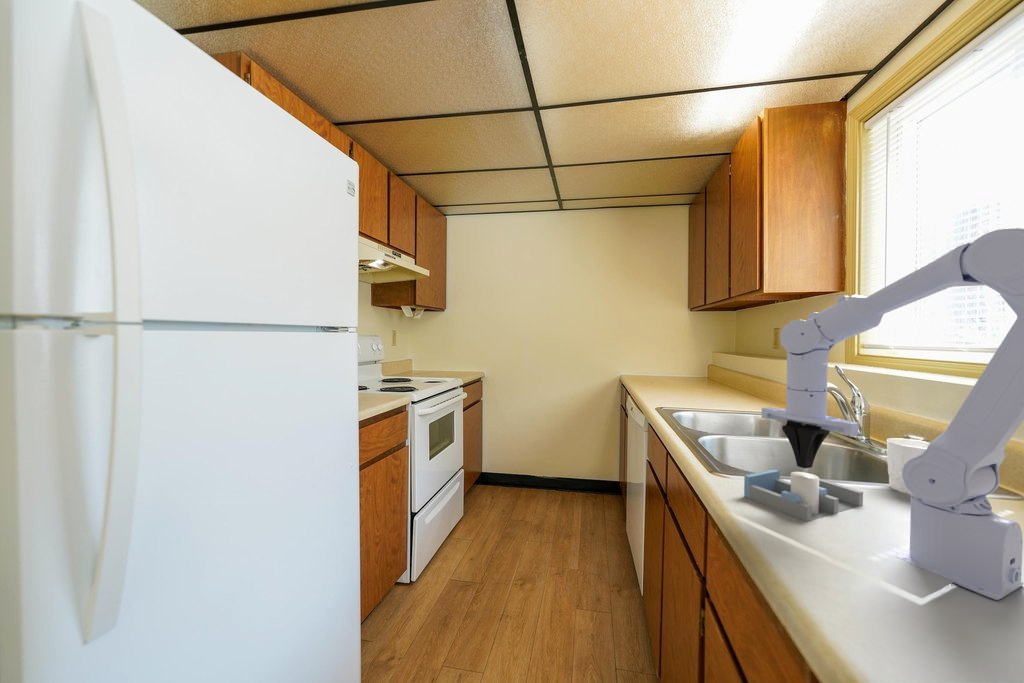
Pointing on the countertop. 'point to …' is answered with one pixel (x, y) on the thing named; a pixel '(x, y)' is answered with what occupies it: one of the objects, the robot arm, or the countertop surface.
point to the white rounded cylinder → (806, 489)
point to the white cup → (901, 459)
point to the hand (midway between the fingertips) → (804, 466)
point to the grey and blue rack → (779, 496)
